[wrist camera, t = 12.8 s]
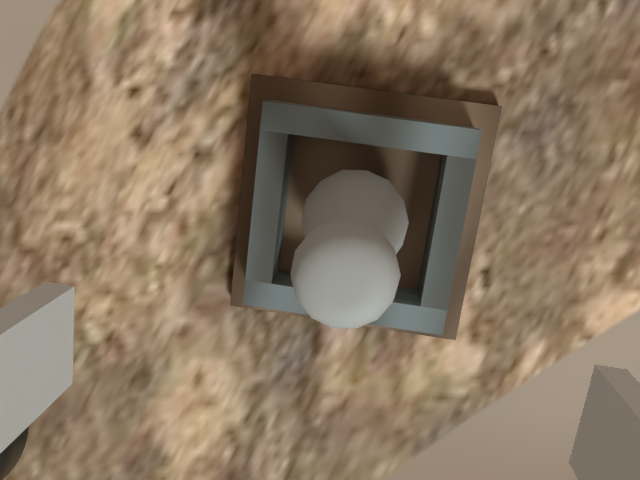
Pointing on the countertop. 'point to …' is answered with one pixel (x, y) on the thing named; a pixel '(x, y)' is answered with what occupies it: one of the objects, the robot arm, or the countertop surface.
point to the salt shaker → (349, 249)
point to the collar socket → (376, 157)
